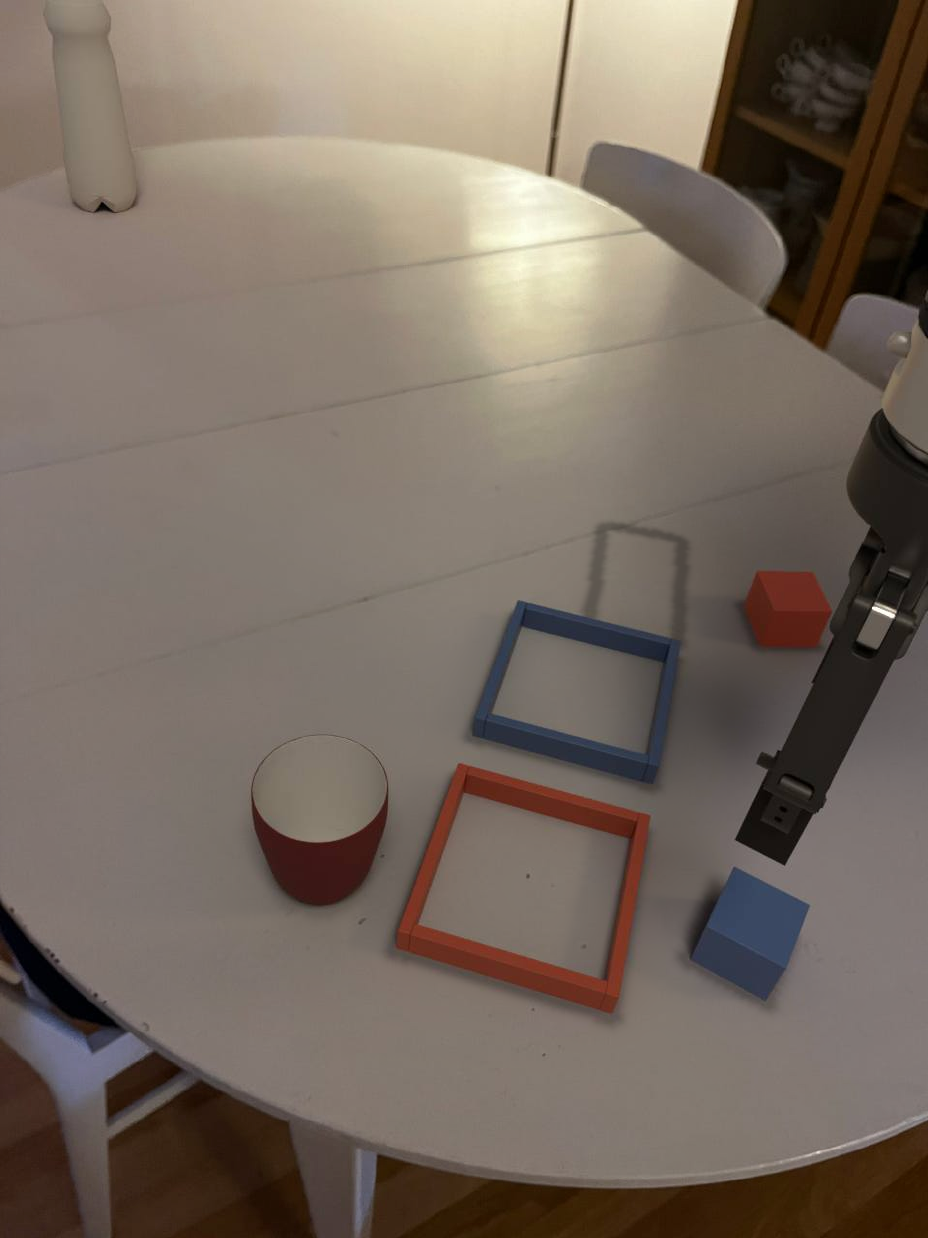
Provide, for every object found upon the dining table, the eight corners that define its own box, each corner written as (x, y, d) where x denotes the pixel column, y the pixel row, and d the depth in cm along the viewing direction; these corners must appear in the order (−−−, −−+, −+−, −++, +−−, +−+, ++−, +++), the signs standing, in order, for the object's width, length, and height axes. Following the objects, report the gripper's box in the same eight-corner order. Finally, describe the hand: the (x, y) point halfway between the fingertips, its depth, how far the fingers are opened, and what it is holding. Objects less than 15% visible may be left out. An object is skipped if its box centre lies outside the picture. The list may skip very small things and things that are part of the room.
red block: (794, 614, 90) (813, 571, 87) (813, 654, 87) (832, 611, 83) (740, 613, 90) (756, 570, 86) (756, 654, 86) (774, 610, 83)
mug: (307, 786, 72) (304, 691, 65) (414, 822, 71) (422, 728, 64) (236, 911, 65) (225, 817, 58) (354, 953, 63) (357, 863, 56)
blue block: (785, 946, 66) (810, 905, 63) (761, 1008, 63) (786, 968, 60) (714, 908, 68) (734, 866, 64) (686, 966, 65) (706, 926, 61)
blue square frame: (672, 666, 84) (681, 640, 82) (650, 792, 74) (659, 766, 72) (513, 625, 86) (517, 599, 84) (471, 743, 76) (474, 717, 74)
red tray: (641, 840, 71) (650, 815, 69) (609, 1021, 61) (619, 997, 59) (455, 788, 73) (458, 762, 71) (395, 955, 63) (397, 930, 61)
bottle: (74, 189, 143) (30, -64, 123) (141, 190, 145) (109, -59, 124) (67, 215, 137) (21, -47, 116) (138, 216, 138) (104, -42, 118)
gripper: (938, 303, 51) (802, 611, 66) (787, 555, 35) (650, 892, 49) (1094, 352, 49) (918, 660, 63) (1012, 647, 33) (799, 973, 47)
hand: (800, 762), depth 56 cm, fingers open, 13 cm apart
